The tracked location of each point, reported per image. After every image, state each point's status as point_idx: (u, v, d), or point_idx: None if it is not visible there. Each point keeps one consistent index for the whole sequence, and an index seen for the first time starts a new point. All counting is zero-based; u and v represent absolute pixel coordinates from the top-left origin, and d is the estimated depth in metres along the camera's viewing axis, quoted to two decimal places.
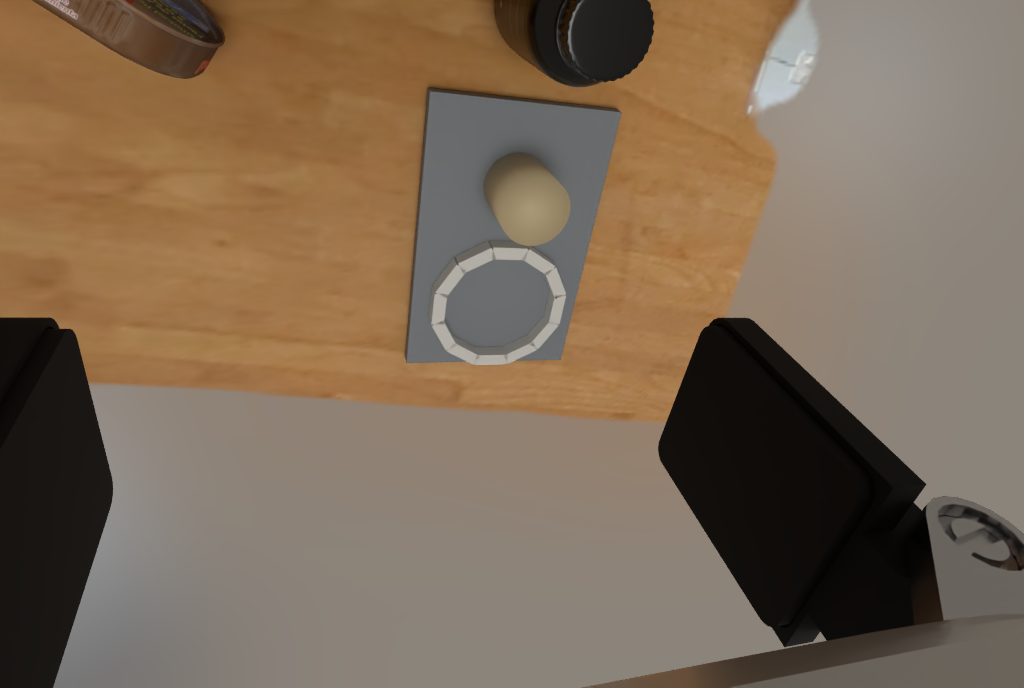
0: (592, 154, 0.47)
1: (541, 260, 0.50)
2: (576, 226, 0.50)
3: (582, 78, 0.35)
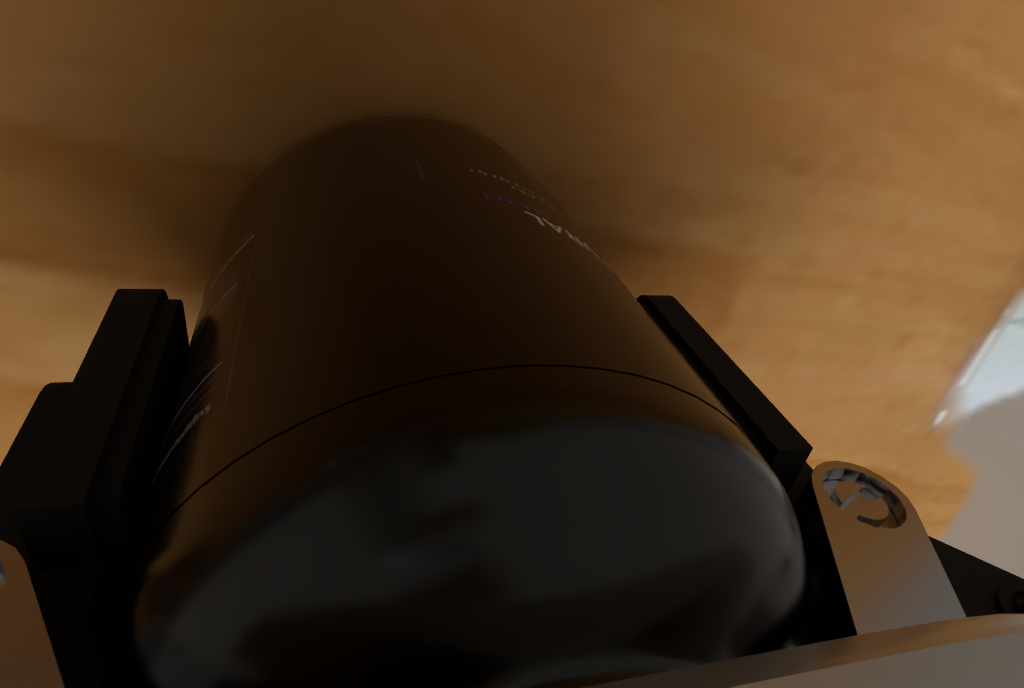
0: None
1: None
2: None
3: None
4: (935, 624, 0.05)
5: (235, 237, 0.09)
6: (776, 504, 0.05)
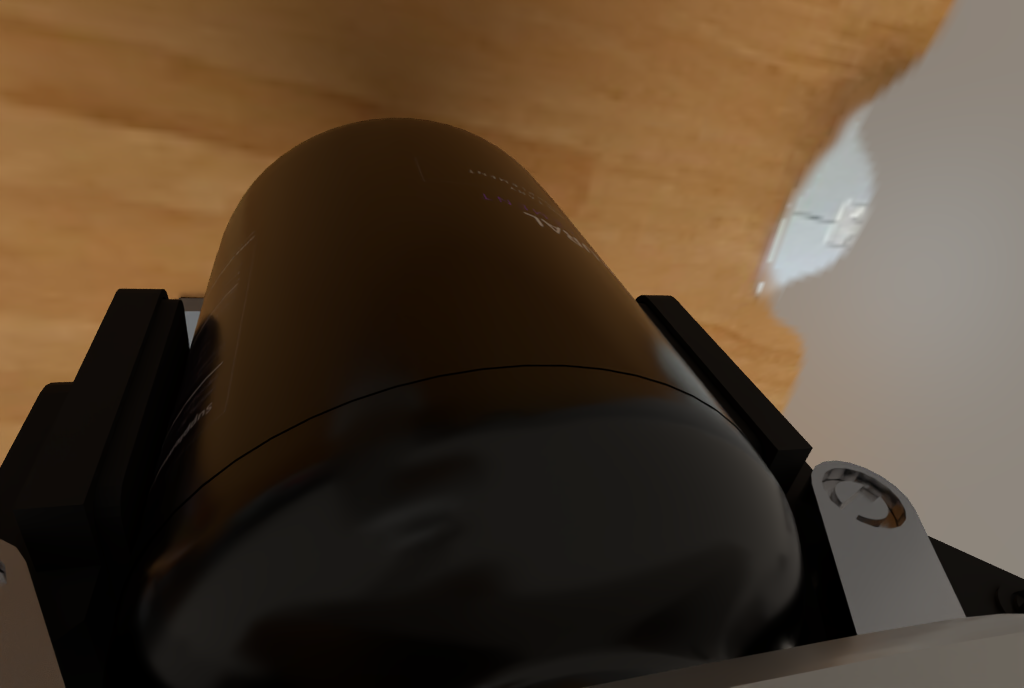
0: None
1: None
2: None
3: None
4: (935, 624, 0.05)
5: (236, 237, 0.09)
6: (772, 504, 0.05)
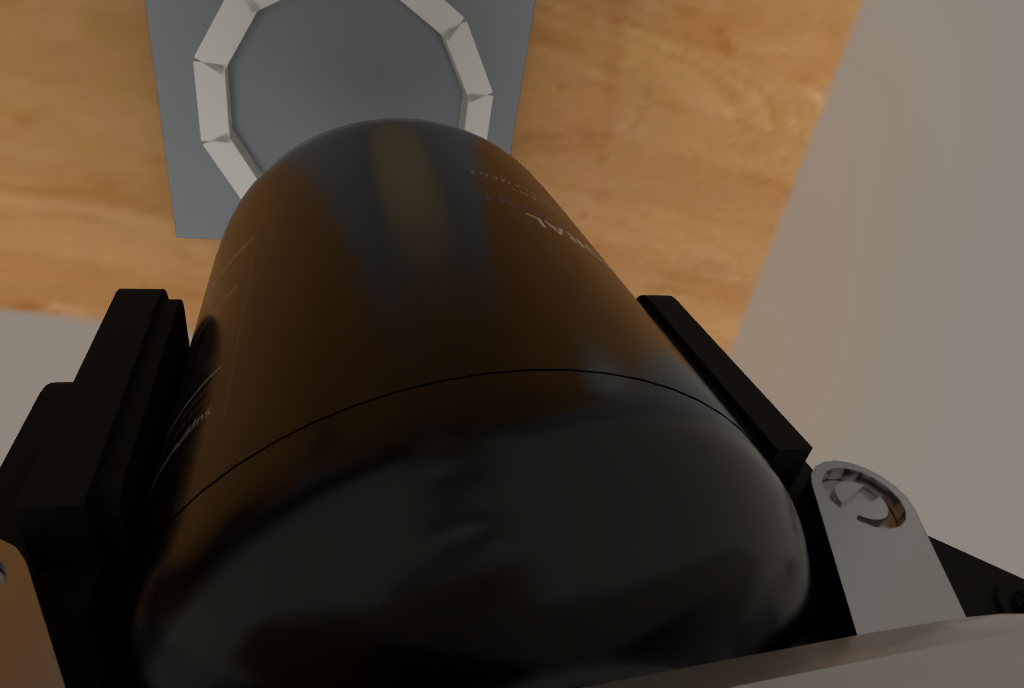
0: None
1: None
2: None
3: None
4: (934, 624, 0.05)
5: (235, 239, 0.09)
6: (780, 510, 0.05)
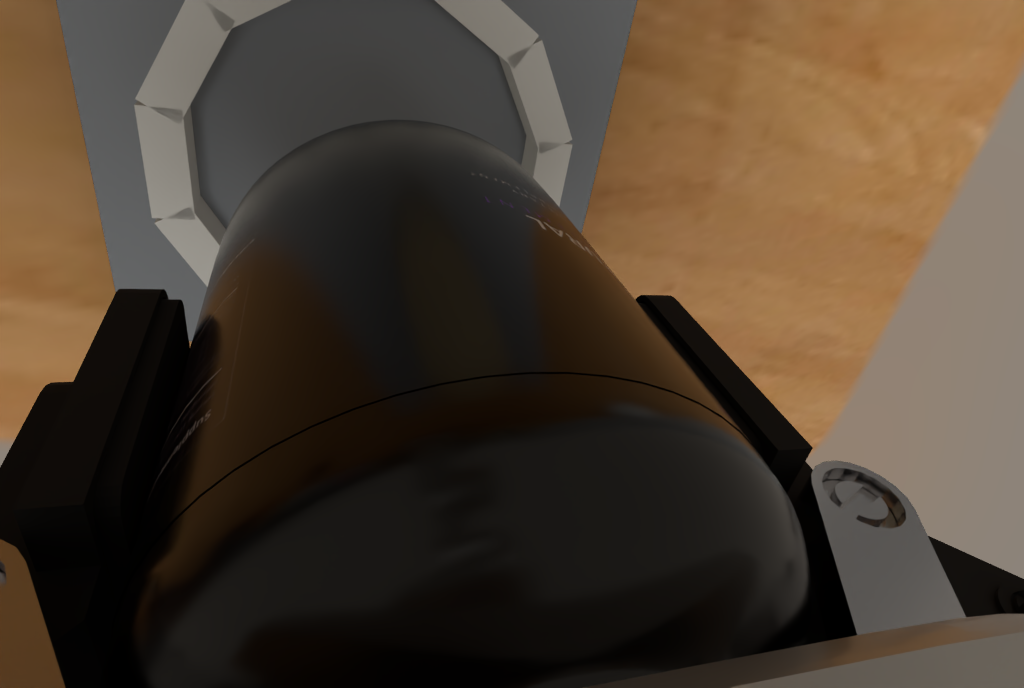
0: None
1: (492, 8, 0.15)
2: None
3: None
4: (935, 624, 0.05)
5: (235, 240, 0.09)
6: (780, 514, 0.05)
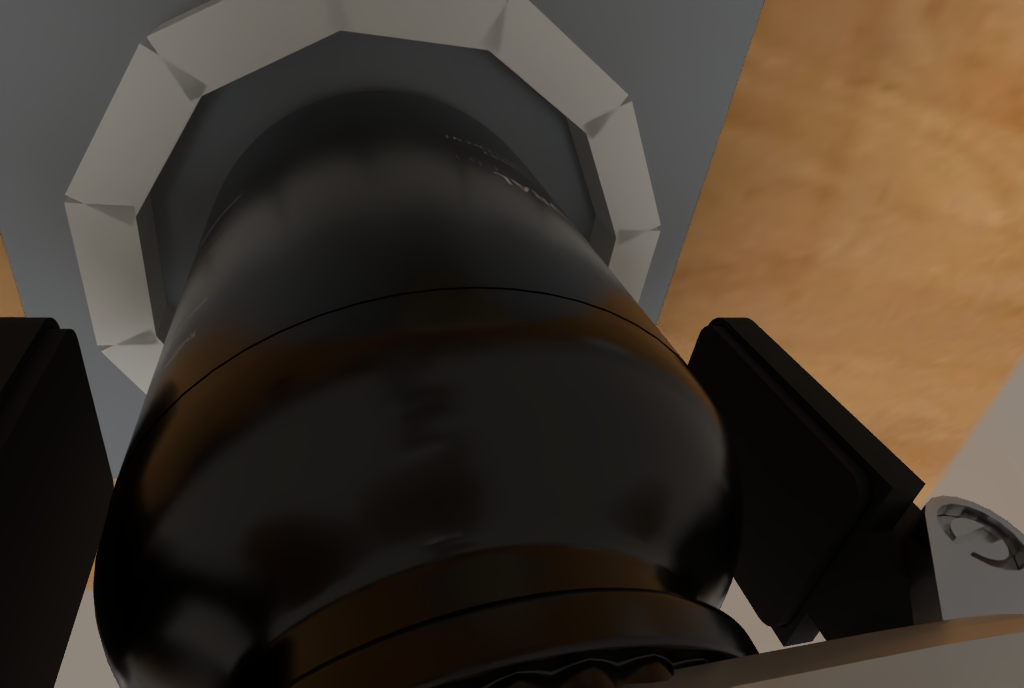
0: None
1: (568, 61, 0.11)
2: None
3: None
4: (934, 624, 0.05)
5: (224, 199, 0.09)
6: (706, 420, 0.06)
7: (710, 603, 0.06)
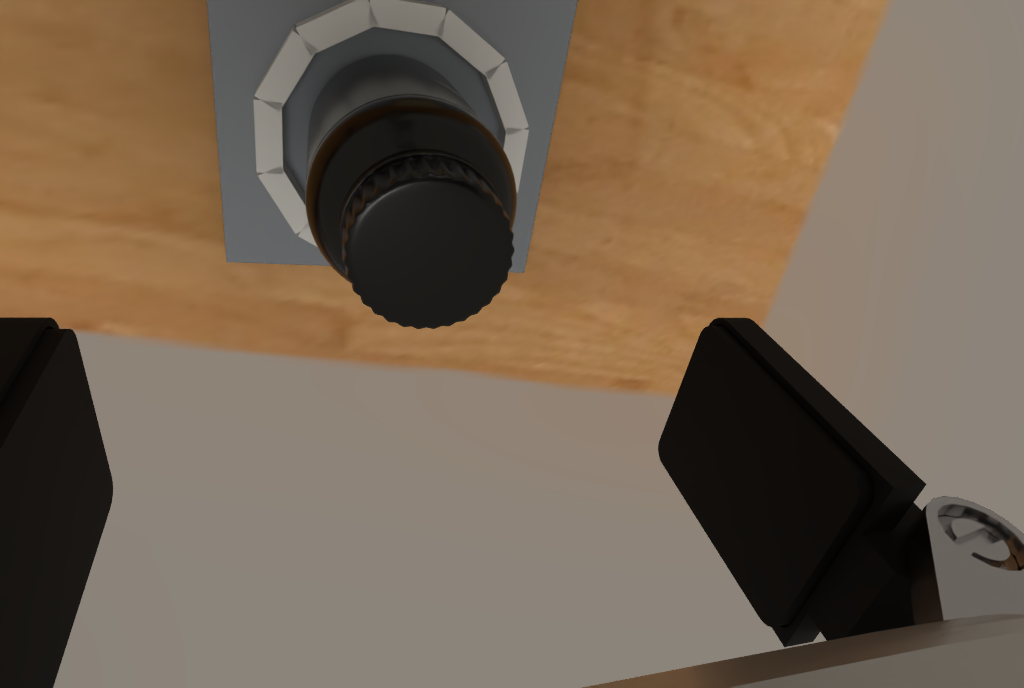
0: None
1: (475, 41, 0.25)
2: None
3: None
4: (934, 624, 0.05)
5: (326, 94, 0.23)
6: (491, 140, 0.19)
7: None
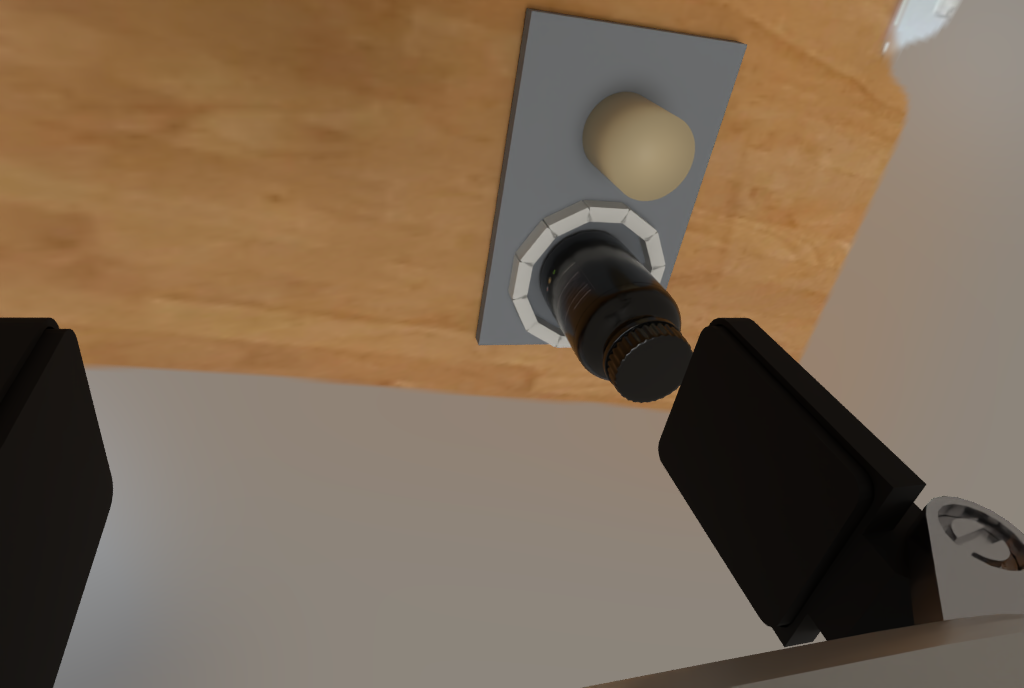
0: (709, 96, 0.40)
1: (641, 224, 0.42)
2: (682, 185, 0.43)
3: None
4: (935, 624, 0.05)
5: (565, 262, 0.41)
6: (673, 303, 0.37)
7: None
